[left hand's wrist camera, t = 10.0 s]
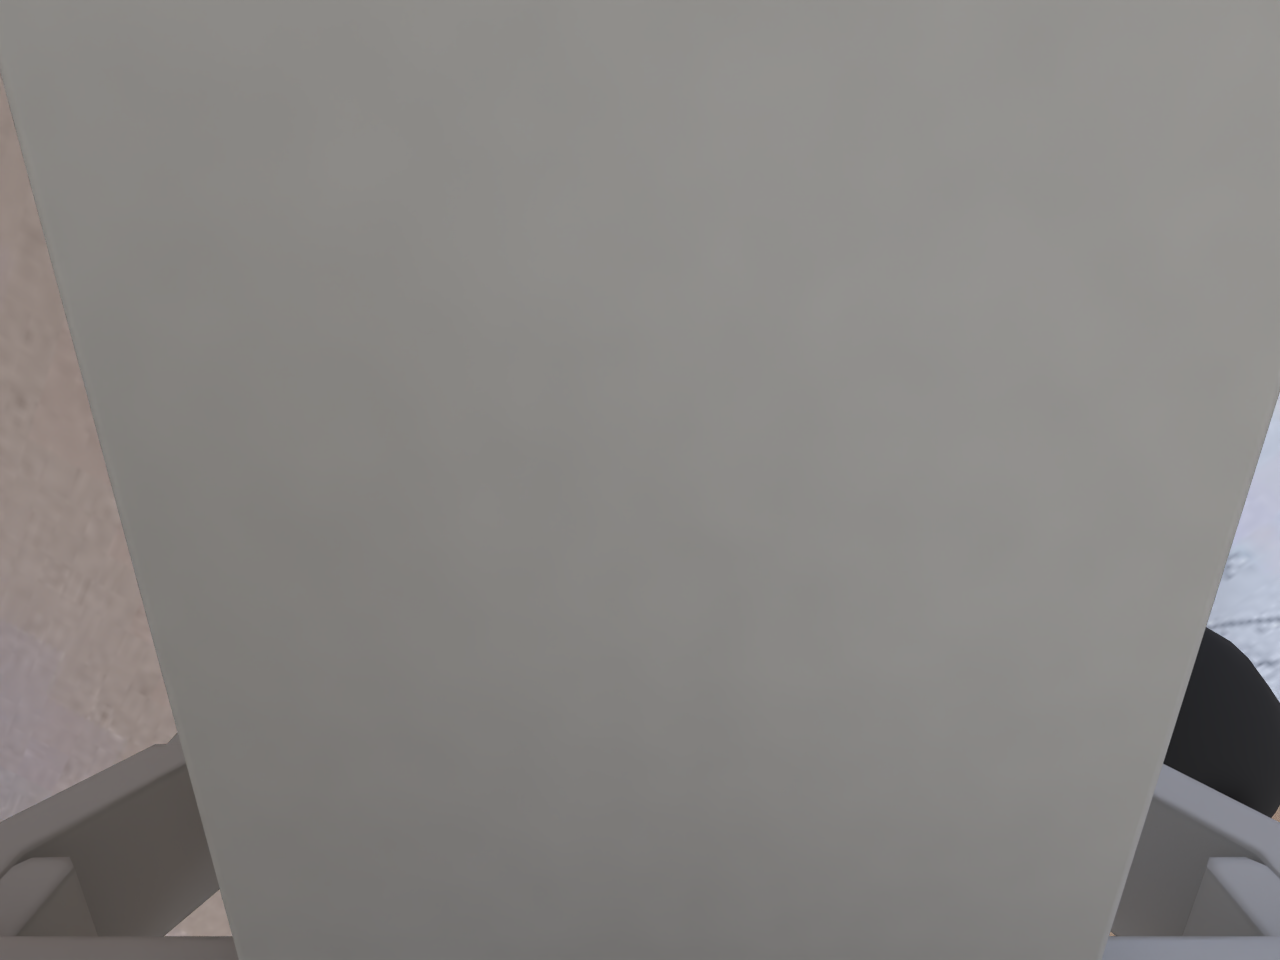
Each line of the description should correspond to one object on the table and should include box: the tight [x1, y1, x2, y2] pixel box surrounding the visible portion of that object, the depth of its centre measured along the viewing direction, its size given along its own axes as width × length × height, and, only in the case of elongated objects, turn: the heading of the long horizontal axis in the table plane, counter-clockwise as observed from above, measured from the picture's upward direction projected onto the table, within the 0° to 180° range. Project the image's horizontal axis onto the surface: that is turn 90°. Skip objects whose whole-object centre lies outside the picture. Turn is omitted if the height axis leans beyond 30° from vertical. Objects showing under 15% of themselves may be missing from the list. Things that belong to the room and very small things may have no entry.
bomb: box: [1163, 628, 1280, 818], centre depth 22 cm, size 8×8×12 cm
